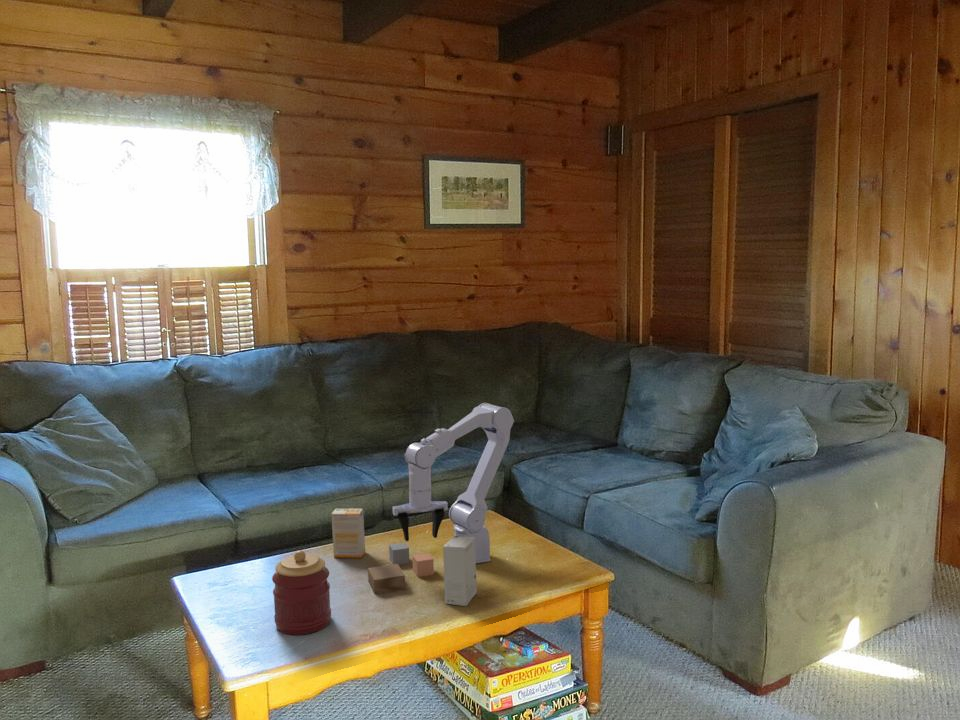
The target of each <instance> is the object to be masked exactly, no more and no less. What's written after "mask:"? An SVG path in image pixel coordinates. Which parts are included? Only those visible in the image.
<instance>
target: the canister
mask: <svg viewBox="0 0 960 720" xmlns="http://www.w3.org/2000/svg"><path fill="white" fill-rule="evenodd" d="M329 576H330V570H329V568H327V567H326V561H325V560H324V559H323V558H321V557H320V556H317V555H315V554H312V553H305V551H304V550H301V549H300V550H297V551H295V553H294V554H292V555H289V556H287V557H284V558H283V559H282V560H281V561H280V562H278V563H277V564H276V565H275V572H274V573H273V575H272V577H271V580H272V582H273V583H274V588H273V590H272V595H273V601H274V616H273V617H274V624H275V626H276V629H277V630H278V631H279V632H281V633H283V634H286V635H290V636H291V635H294V636H299V635H308V634H313V633H315V632H318V631H321V630H322V629H324V628H326V626H328V625H329V624H330V622H331V616H332V608H331V597H330V588H331V584H330V582H328V577H329Z"/></svg>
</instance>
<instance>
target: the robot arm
mask: <svg viewBox="0 0 960 720" xmlns="http://www.w3.org/2000/svg"><path fill="white" fill-rule="evenodd" d="M514 422H515V420H514V417H513V415H512V412H511V410H510V409H509V408H507V407H505V406H504V407H503V406H498V405H494V404H491V403H488V402H483V403H480V404H479V405H478V406H476V407H474V408H473V409H472V411H471V412H470V413H468V414H467V415H466V416H464V417H463V418H461V419H460V420H459V421H457V422H456V423H455V424H454V425H452V426H451V427H449V428H448V429H447V428H444V427H442V428H436V429H434V433H432V434H430V435H429V436H427V437H426V438H424V437H423V438H422V439H420V441H419V442H413V443H411V444H410V445H409V446H408V447H407V448H406V451H405V453H404V454H403V455H404V456H403V457H404V459H405V461H406V463H407V465H408V467H407V468H408V479H409V480H408V484H409V485H408V488H409V489H408V490H409V493H408V494H409V495H408V496H409V499H408V500H409V503H404V504H400V505H394V506H392V514H393V516H394V517H395V516H396V517H397V519H398V521H399V523H400V526H401V530H402V532H403V537H404V541H405V542H409V541H410V533H409V527H410V526H409V523H410V518H409V515H408V514H414V513H415V514H416V513H426V512H431V518H432V519H431V521H432V527H431V528H432V529H431V530H432V531H431V532H432V537H433V538H434V539H436V538H438V533H439V529H440V526H441V524H442V522H443V519H444V518H445V515H446V513H445V511H448V508H449V511H448V518H449V520H450V521H451V522H452V524H453V526H452V527H453V528H454V529H453V532H454V533H453V534H454V536H461V537H474V538H475V561H476V564H482V563H487V562H491V561H492V559H491V550H490V549H491V546H490V545H491V541H490V539H491V538H490V533H489V530H488V528H487V527H486V526H485V523H486V516H487V515H486V514H487V512H488V505H487V503H486V501H485V499H486V497H487V494H488V492H489V490H490V487H491V485H492V482H493V481H494V478H495V476H496V473H497V471H498V468H499V466H500V464H501V463H502V462H501V461H502V459H503V457H504V455H505V453H506V450H507V448H508V445H509V443H510V437H511V429H512V427H513V425H514ZM478 428H482V430H483V431H484V432H485V434H486V437H487V440H488V441H487V443H486V445H485V447H484V449H483V452H482V454H481V456H480V459H479V461H478V464H477V465H476V468H475V470H474V472H473V475H472V477H471V479H470V482H469V483H468V484H469V485H468V487H467V489H466V491H464V492H462V493H461V494H459V495H458V496H457V499H456V500H455V502H454V503H453V504H452V505H451V506H450V507H449V506H448V505H449V504H448V501H446V500H444V501H442V500H441V501H440V500H439V501H432V478H431V475H432V472H431V471H432V469H431V468H432V466H433V464H434V463H435V460H436V459H437V458H438V457H439V456H441V455H442V454H444V453H445V452H447V451H448V450H451V448H453V447H454V445H455V442H456V440H458V439H460V438H461V437H463V436H465V435H467V434H468V433H471V432H472V431H474V430H475V429H478ZM454 536H453V537H454Z"/></svg>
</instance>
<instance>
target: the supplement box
mask: <svg viewBox="0 0 960 720" xmlns="http://www.w3.org/2000/svg"><path fill="white" fill-rule="evenodd" d="M364 521H365V519H364V508H338V507H337V508H335V509H334V510H333V511H332V512H331V530H332V544H333V558H344V559H345V558H347V559H348V558H349V559H351V558H353V559H354V558H355V559H357V558H358V559H362V558H363V556H364V555H365V553H366V538H365V522H364Z"/></svg>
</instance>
